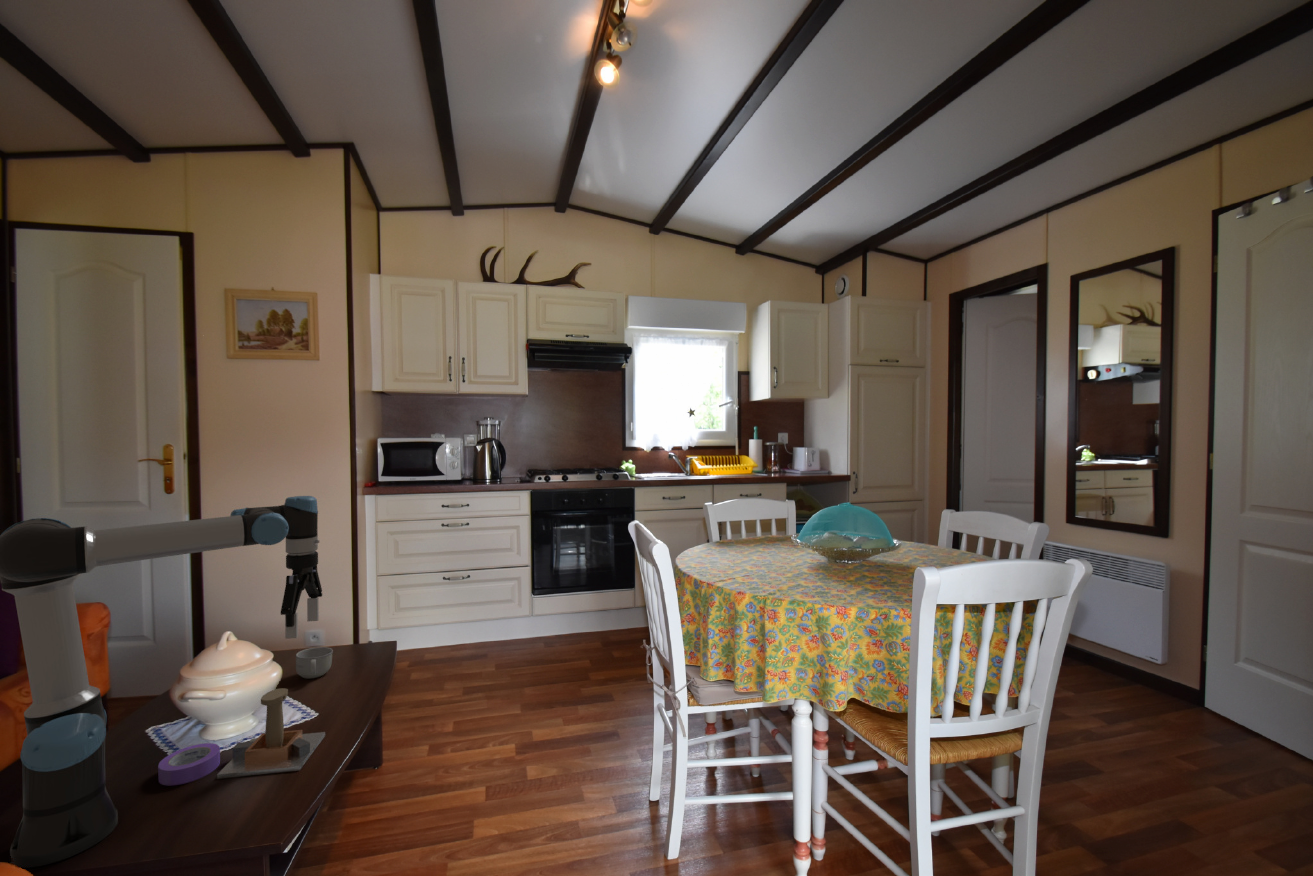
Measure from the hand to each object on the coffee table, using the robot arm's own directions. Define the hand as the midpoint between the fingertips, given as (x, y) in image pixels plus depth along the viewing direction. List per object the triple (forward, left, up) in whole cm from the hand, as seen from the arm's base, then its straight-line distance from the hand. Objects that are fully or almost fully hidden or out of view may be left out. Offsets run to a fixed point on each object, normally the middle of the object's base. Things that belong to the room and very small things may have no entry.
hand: (302, 629), depth 155 cm
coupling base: (-3, -11, -29) cm, 31 cm away
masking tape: (-20, -14, -29) cm, 38 cm away
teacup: (-12, +38, -29) cm, 49 cm away
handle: (-3, -11, -28) cm, 30 cm away
